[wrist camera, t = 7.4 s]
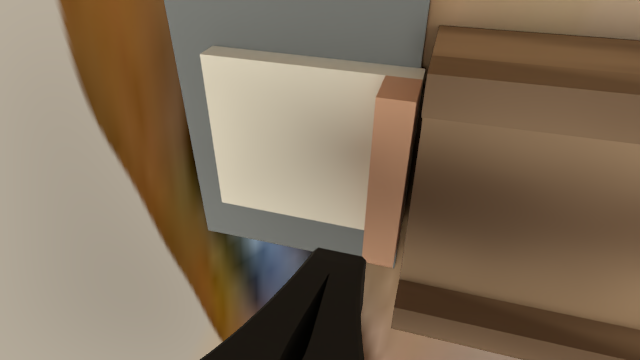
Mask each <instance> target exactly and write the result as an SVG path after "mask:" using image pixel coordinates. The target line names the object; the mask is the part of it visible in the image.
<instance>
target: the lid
mask: <svg viewBox="0 0 640 360" xmlns="http://www.w3.org/2000/svg"><path fill="white" fill-rule="evenodd" d="M200 59H201V66H202V73H203V79H204V86H205V92H206V99H207V106H208V112H209V119H210V126H211V132H212V139H213V146H214V152H215V159H216V166H217V172H218V179H219V186H220V192H221V199H222V202H223V203H228V204H233V205H238V206H244V207H249V208H254V209H259V210H264V211H269V212H274V213H279V214H284V215H289V216H294V217H299V218H304V219H310V220H315V221H320V222H325V223H330V224H335V225H340V226H345V227H350V228H355V229H360V230H364V238H363V249H362V257H363V258H364V259H365V260H366V262H367V263H371V264H376V265H381V266H385V267H390V268H393V264H394V259H395V255H396V250H397V245H398V241H399V236H400V231H401V227H402V222H403V216H404V209H405V202H406V196H407V189H408V182H409V176H410V169H411V162H412V156H413V149H414V142H415V136H416V129H417V122H418V116H419V109H420V102H421V96H422V89H423V82H424V76H425V69H422V68H413V67H404V66H395V65H386V64H377V63H367V62H358V61H349V60H340V59H331V58H321V57H312V56H303V55H294V54H285V53H275V52H266V51H257V50H248V49H239V48H230V47H220V46H211V47H210V48H208V49H207V50H205V51H204V52H202V53H201V54H200Z"/></svg>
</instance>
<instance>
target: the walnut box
mask: <svg viewBox="0 0 640 360" xmlns="http://www.w3.org/2000/svg"><path fill="white" fill-rule="evenodd" d="M421 117H422V118H423V120H422V127H421V134H420V141H419V148H418V155H417V162H416V169H415V176H414V183H413V189H412V196H411V203H410V210H409V217H408V224H407V231H406V238H405V245H404V252H403V259H402V265H401V272H400V279H399V284H398V290H397V295H396V300H395V305H394V311H393V318H392V325H391V328H392V329H396V330H400V331H405V332H409V333H413V334H417V335H422V336H426V337H430V338H434V339H438V340H443V341H447V342H451V343H455V344H459V345H464V346H468V347H472V348H476V349H480V350H485V351H489V352H493V353H497V354H501V355H506V356H510V357H514V358H518V359H522V360H640V41H638V40H624V39H611V38H598V37H585V36H571V35H558V34H545V33H532V32H518V31H505V30H492V29H479V28H466V27H452V26H439V29H438V33H437V37H436V41H435V45H434V49H433V53H432V57H431V61H430V65H429V69H428V73H427V79H426V86H425V93H424V100H423V107H422V115H421Z"/></svg>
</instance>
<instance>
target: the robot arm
mask: <svg viewBox="0 0 640 360" xmlns="http://www.w3.org/2000/svg"><path fill="white" fill-rule="evenodd" d="M365 269H366V260H365V259H364V258H363V257H362V256H358V255H353V254H348V253H343V252H338V251H333V250H328V249H324V248H319V247H318V248H317V249H315V250H314V251H313V252H312V254H311V255H310V256H309V257H308V259H307V260H306V261H305V262H304V263H303V265H302V266H301V267H300V268H299V269H298V270H297V272H296V273H295V274H294V275H293V276H292V277H291V278H290V279H289V281H288V282H287V283H286V284H285V285H284V286H283V287H282V288H281V289H280V290H279V291H278V292H277V293H276V294H275V295H274V296H273V297H272V298H271V299H270V300H269V301H268V302H267V303H266V304H265V305H264V306H263V307H262V308H261V309H260V310H259V311H258V312H257V313H256V314H255V315H253V316H252V317H251V318H250V319H249V320H248V321H247V322H246V323H245V324H244V325H243V326H242V327H240V328H239V329H238V330H237V331H236V332H235V333H233V334H232V335H231V336H230V337H229V338H227V339H226V340H225V341H224V342H222V343H221V344H220V345H219V346H217V347H216V348H215V349H214V350H212V351H211V352H210V353H208V354H207V355H206V356H204V357H203V358H202V359H200V360H364V354H363V345H362V333H361V311H362V306H363V293H364V281H365Z"/></svg>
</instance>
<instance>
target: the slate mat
mask: <svg viewBox="0 0 640 360" xmlns="http://www.w3.org/2000/svg"><path fill="white" fill-rule="evenodd" d="M164 3H165V8H166V13H167V18H168V24H169V29H170V34H171V39H172V44H173V49H174V55H175V60H176V65H177V70H178V75H179V81H180V86H181V91H182V96H183V101H184V106H185V112H186V117H187V122H188V127H189V132H190V138H191V143H192V148H193V153H194V158H195V163H196V169H197V174H198V179H199V184H200V189H201V194H202V200H203V205H204V210H205V215H206V220H207V226H208V230H211V231H216V232H221V233H225V234H230V235H235V236H240V237H245V238H250V239H255V240H259V241H264V242H269V243H274V244H279V245H284V246H289V247H294V248H298V249H303V250H308V251H314V250H315V249H317V248H318V247H319V248H324V249H328V250H333V251H338V252H343V253H348V254H353V255H358V256H362V249H363V238H364V230H360V229H355V228H350V227H345V226H340V225H335V224H330V223H325V222H320V221H315V220H310V219H304V218H299V217H294V216H289V215H284V214H279V213H274V212H269V211H264V210H259V209H254V208H249V207H244V206H238V205H233V204H228V203H223V202H222V199H221V192H220V186H219V179H218V172H217V166H216V159H215V152H214V146H213V139H212V132H211V126H210V119H209V112H208V106H207V99H206V92H205V86H204V79H203V73H202V66H201V59H200V54H201V53H202V52H204V51H205V50H207V49H208V48H210V47H211V46H220V47H230V48H239V49H248V50H257V51H266V52H275V53H285V54H294V55H303V56H312V57H321V58H331V59H340V60H349V61H358V62H367V63H377V64H386V65H395V66H404V67H413V68H421V66H422V58H423V51H424V43H425V36H426V28H427V21H428V13H429V6H430V0H164ZM397 246H398V245H397ZM396 254H397V250H396ZM395 261H396V255H395V259H394V264H393V268H394V267H395ZM366 263H367V262H366Z"/></svg>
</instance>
